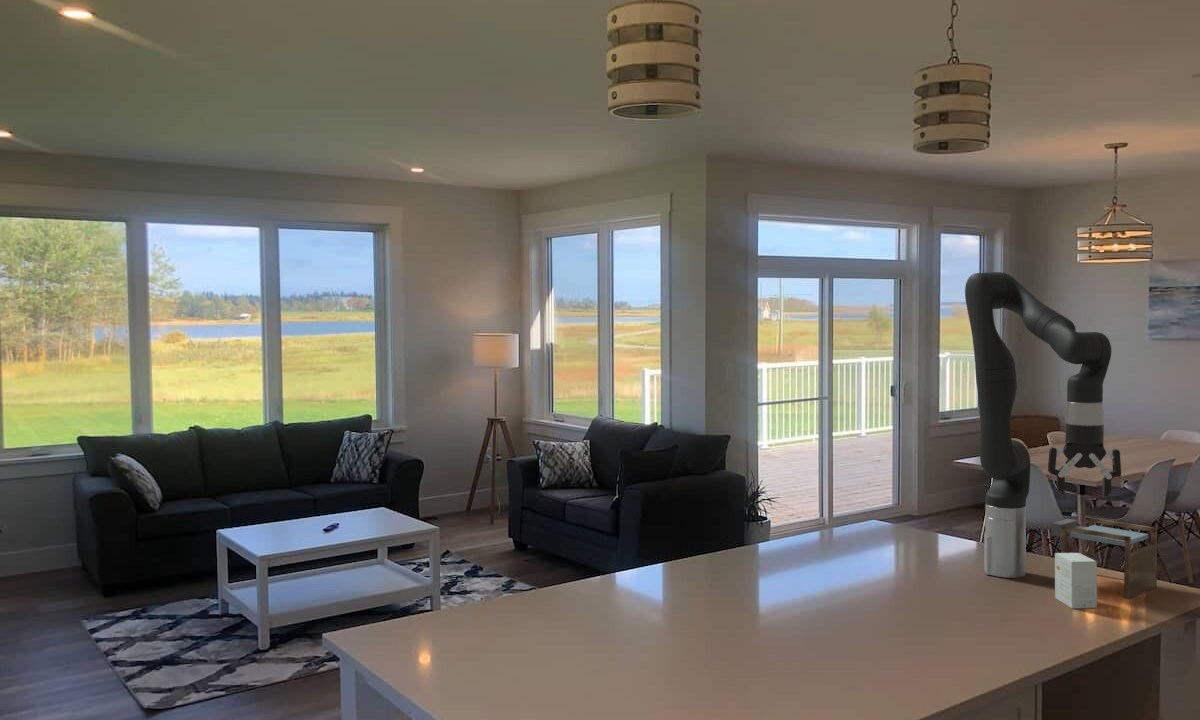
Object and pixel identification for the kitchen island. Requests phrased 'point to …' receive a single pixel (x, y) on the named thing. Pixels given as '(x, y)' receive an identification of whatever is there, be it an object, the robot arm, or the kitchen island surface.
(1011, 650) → the kitchen island surface
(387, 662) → the kitchen island surface
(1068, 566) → the small box
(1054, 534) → the trapdoor
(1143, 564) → the trapdoor frame
